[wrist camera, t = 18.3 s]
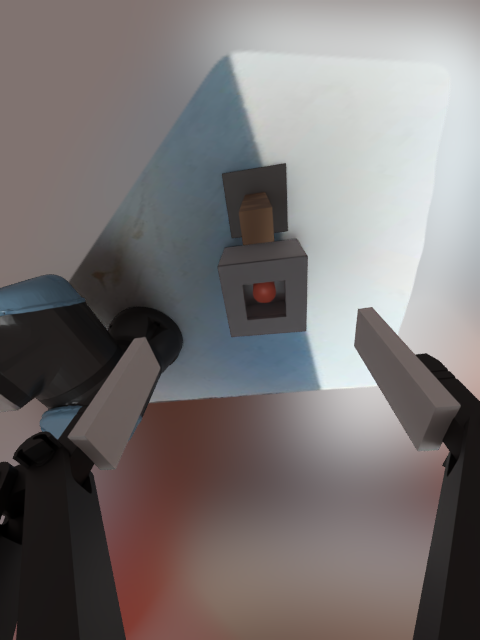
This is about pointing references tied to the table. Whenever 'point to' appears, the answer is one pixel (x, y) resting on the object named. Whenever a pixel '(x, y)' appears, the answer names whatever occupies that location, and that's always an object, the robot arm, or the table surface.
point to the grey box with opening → (259, 267)
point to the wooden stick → (256, 219)
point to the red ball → (264, 291)
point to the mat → (257, 182)
